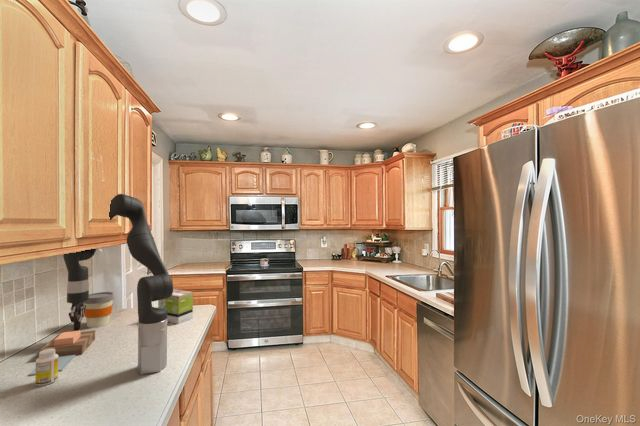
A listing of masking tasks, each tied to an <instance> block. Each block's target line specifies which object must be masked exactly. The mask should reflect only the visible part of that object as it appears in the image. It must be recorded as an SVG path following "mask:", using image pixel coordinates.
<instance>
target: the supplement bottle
mask: <svg viewBox="0 0 640 426" xmlns="http://www.w3.org/2000/svg"><path fill="white" fill-rule="evenodd" d="M35 368H36V375H35V380H34V381H35V385H36V386H39V387H41V386H47V385H50V384H53V383H54V382H56V381H57V380H58V379H59V371H58V354H55V349H46V350H43V351H41V352H40V351H39V353H38V357H37V358H36V359H35Z"/></svg>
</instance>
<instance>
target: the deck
mask: <svg viewBox="0 0 640 426" xmlns="http://www.w3.org/2000/svg"><path fill="white" fill-rule="evenodd" d="M61 334H62V333H59V334H58V335H56V336H55V337H53V339H51V340H50V341H49V342H48V343H47V344H45V345H44V346H43V347H42V348H40V351H39V352H41V351H43V350H46V349H55V354H58V356H65V355H73V354H76V356H80V355H81V356H82V355H83V354H84V353H85V352H86V351H87V349H89V347H90V346H91V345H92V343H93V342H95V340H96V330H95V329H94V330H87V331H81V337H80V338H79V339H78V340H76V341H75V342H74V343H73V344H67V345H59V346H54V340H55V339H56V338H57V337H58V336H59V335H61Z"/></svg>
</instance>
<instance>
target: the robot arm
mask: <svg viewBox="0 0 640 426" xmlns="http://www.w3.org/2000/svg"><path fill="white" fill-rule="evenodd" d="M110 201H111V204H110V212H109V217H110V220H111V221H112V220H113V218H115V217H116V216H118V217H122V218H126V219H128V220H129V221H130V223H131V226H132V227H131V229H130V230H129V233H128V234H127V237H126V245H127V247H128V251H129V254H130V255H131V256H132V258H133V259H134V260H135V261H137V262H138V263H139V264H141V265H143V266H144V267H146V268H147V269H148V270H149V272H150V273H151V274H152V275H148V276H142V277H140V278H139V280H138V282H137V285H136V286H137V287H136V295H137V316H138V327H137V328H138V329H137V330H138V331H137V372H138V373H140V375H147V374H151V373H152V374H153V373H159V372H161V371H162V370H163V369H165V368H166V366H167V363H168V361H167V360H168V354H167V353H168V349H167V348H168V322H167V310H165V309H162V308H158V307H154V306H153V305H152V302H156V301H157V302H158V300H162V299H166V298H169V297H171V295H172V294H173V289H174V284H173V281H172V280H173V279H172V278H171V276H170V274H169V272H168V270H167V268H166V266H165V264H164V262H163V261H162V258H161V256H160V253H159V250H158V248H157V245H156V241H155V238H154V237H153V236H154V235H153V234H152V232H151V229H150V226H149V223H148V219H147V215H146V211H145V207H144V204H143V202H142V200H140V199H138V198H137V197H133V196H130V195H128V194H124V193H123V194H122V193H117V194H116V195H115V196H114V197H113V198H112V199H110ZM97 249H98V248H97ZM97 249H91V250H85V251H81V252H76V253H69V254H64V255H62V256H63V257H62V258H63V261H64V263H65V266H66V269H67V273H68V274H67V284H66V302H67V304H71V307H70V312H68V317H69V319H70V322H71V323H73V331H81V329H82V321H83V318H84V317H85V315H84V312H85V308H86V305H85V304H84V301H87V300H88V299H89V294H90V281H89V267H88V266H84V265H81V264H80V261H81V262H82V261H87V260H89V259H91V258H92V257H93V256H94V255H95V253H96V251H97Z"/></svg>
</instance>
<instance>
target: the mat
mask: <svg viewBox="0 0 640 426" xmlns="http://www.w3.org/2000/svg"><path fill="white" fill-rule="evenodd" d="M76 356H77V355H76V354H73V355H65V356H58V372H63V370H64V369H66V367H67V365H68V364H70V362H71V361H72V360H73V359H74V358H75V357H76ZM28 376H29V377H31V376H36V367H35V368H34V369H33V370H32V371H31V372H30V373H29V374H28Z"/></svg>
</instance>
